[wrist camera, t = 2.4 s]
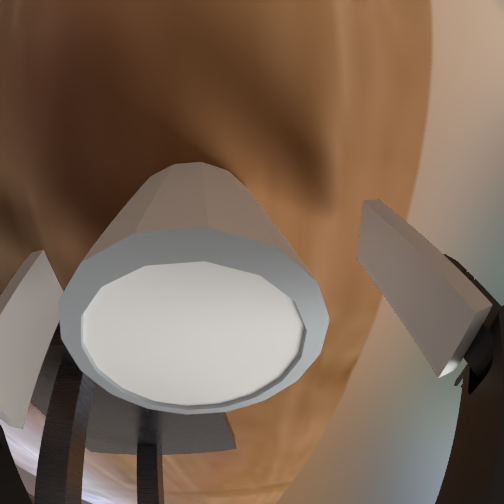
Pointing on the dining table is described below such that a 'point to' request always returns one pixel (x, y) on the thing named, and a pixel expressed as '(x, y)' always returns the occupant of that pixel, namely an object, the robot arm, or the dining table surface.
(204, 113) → the dining table surface
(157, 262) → the shot glass
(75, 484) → the stand
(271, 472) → the dining table surface
